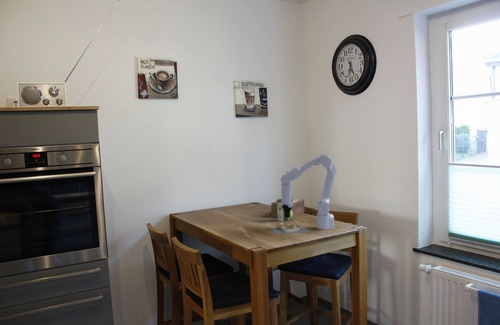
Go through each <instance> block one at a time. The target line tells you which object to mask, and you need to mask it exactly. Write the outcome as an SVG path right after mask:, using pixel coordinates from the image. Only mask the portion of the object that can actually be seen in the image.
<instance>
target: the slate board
mask: <svg viewBox="0 0 500 325" xmlns="http://www.w3.org/2000/svg"><path fill="white" fill-rule="evenodd" d="M283 227H284V228H285V229H286V230H287V226H283ZM269 229H270V230H271V231H272V232H273V233H275V235H288V234H297V233H299V234H300V233H301V234H302V233H310V232H312V231H311V230H309V229H308V228H306V227H305V226H303V225H299V229H300V231H299V232H287V233H286V232H285V231H283V230H282V229H276V227H269Z"/></svg>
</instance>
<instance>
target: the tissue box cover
mask: <svg viewBox="0 0 500 325" xmlns="http://www.w3.org/2000/svg"><path fill="white" fill-rule="evenodd" d="M291 199H292V200H293V201H292V203H293V218H295V217H298V216H299V215H301V214H304V213H305V198H297V197H296V198H295V197H291ZM270 204H271V206H270V207H271V218H275V217H276V218H277V200H275V201H273V202H271V203H270ZM277 219H278V218H277Z"/></svg>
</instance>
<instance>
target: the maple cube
mask: <svg viewBox="0 0 500 325" xmlns="http://www.w3.org/2000/svg"><path fill="white" fill-rule="evenodd" d="M286 227H287V230H288V229H296V224H294V223H292V222H290V223H286Z"/></svg>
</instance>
